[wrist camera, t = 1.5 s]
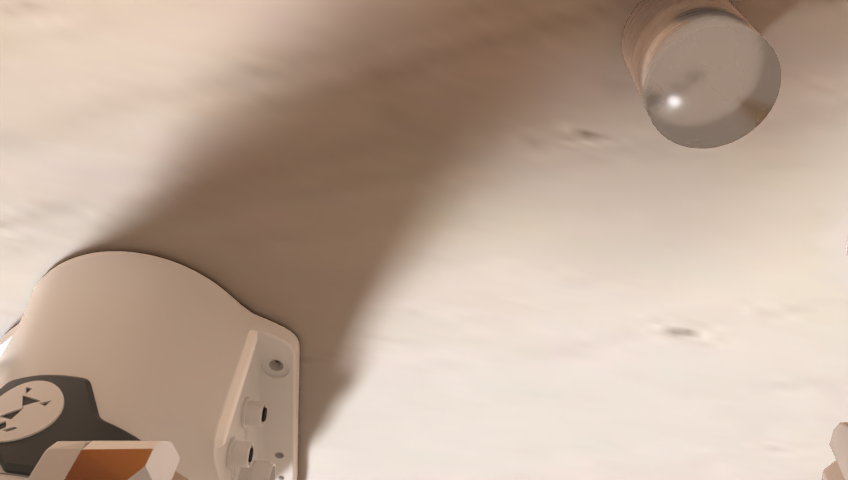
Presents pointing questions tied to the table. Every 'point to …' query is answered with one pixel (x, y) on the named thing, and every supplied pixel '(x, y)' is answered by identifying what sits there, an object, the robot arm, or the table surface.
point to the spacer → (700, 70)
